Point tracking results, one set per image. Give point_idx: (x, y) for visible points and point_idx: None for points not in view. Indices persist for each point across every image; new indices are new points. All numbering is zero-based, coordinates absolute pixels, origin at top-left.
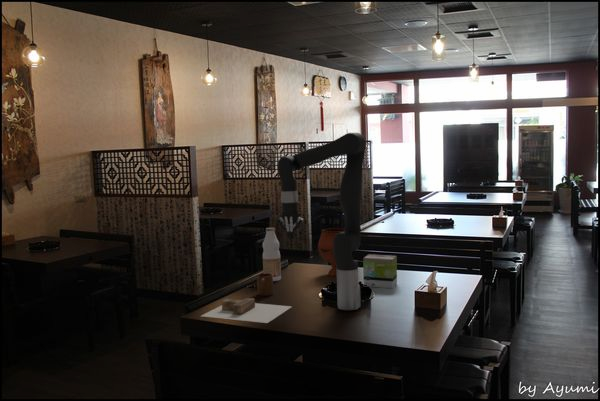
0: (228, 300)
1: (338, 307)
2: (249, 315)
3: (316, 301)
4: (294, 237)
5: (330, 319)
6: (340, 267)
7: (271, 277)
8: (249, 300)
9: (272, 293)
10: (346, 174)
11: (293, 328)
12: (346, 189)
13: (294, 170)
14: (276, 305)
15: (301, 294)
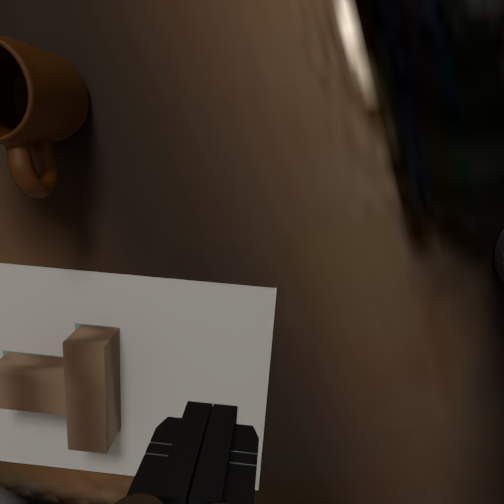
0: (9, 394)
1: (502, 279)
2: (153, 426)
3: (364, 178)
4: (256, 440)
5: (485, 415)
6: None
7: (40, 94)
8: (99, 380)
9: (88, 97)
10: None
11: None
12: None
13: None
14: (199, 287)
15: (243, 58)
